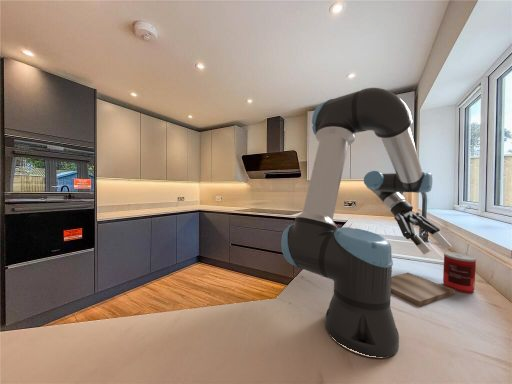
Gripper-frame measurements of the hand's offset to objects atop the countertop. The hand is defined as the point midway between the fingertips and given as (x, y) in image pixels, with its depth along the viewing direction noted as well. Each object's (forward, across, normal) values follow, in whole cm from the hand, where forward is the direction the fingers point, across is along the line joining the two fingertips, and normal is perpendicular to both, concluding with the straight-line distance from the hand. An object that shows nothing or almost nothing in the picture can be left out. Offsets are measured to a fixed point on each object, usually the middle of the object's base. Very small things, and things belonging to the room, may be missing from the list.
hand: (438, 250), depth 77 cm
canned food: (+12, +1, -3) cm, 13 cm away
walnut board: (+8, +17, -7) cm, 20 cm away
